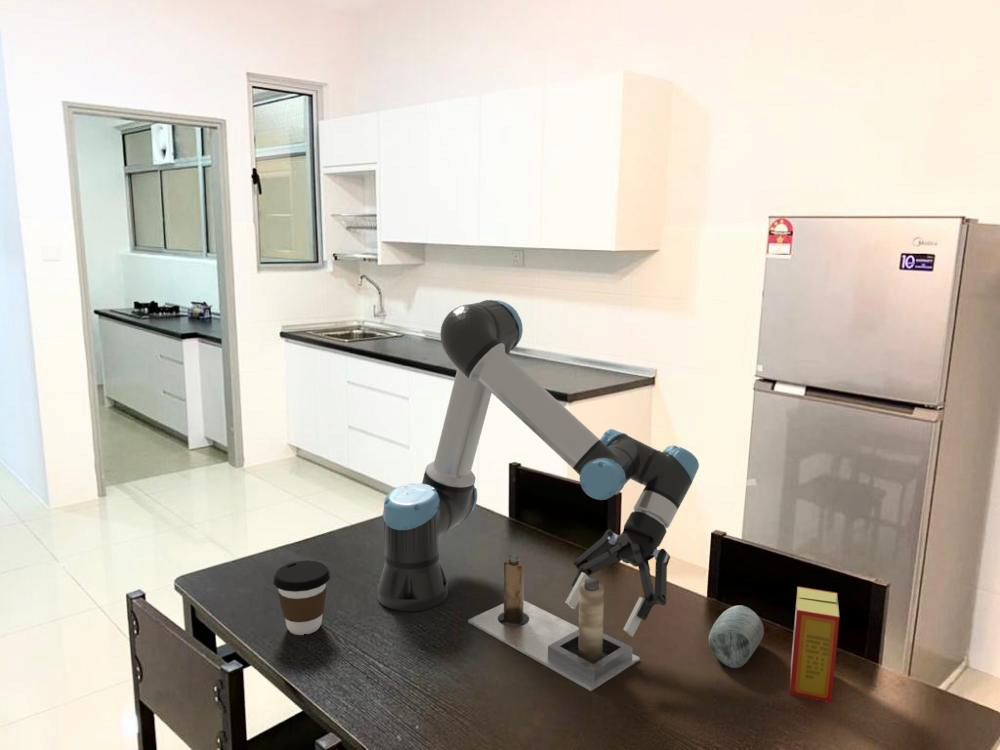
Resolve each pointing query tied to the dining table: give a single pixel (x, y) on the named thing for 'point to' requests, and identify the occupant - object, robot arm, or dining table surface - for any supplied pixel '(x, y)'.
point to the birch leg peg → (591, 620)
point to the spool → (736, 636)
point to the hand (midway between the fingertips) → (597, 619)
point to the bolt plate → (548, 635)
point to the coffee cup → (302, 594)
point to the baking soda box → (814, 643)
